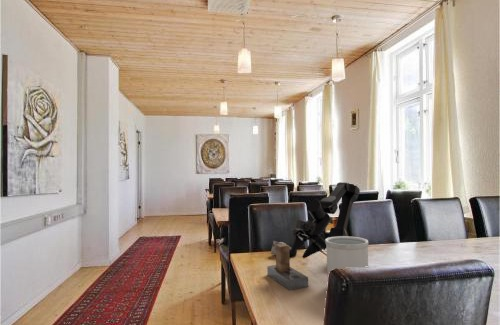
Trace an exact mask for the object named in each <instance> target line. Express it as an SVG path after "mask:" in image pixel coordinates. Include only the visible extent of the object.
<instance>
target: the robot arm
mask: <svg viewBox="0 0 500 325" xmlns="http://www.w3.org/2000/svg"><path fill="white" fill-rule="evenodd" d="M360 192H361V191H360V187H358V186H357V185H354V184H351V183H349V182H348V181H347V182H345V181H342V182H337V183H336V186H335V187H334V189H333V190H332V191H331V193H329V195H328V196H327V197H323V198H321V200H320V199H319V198H314V199H313V201H310V202H309V203H308V204H307V205H306V210H307V211H308V212H309V215H311V217H312V219H313V220H312V221H311V220H306V221H303V220H300V219H297V221H296V224H295V228H294V229H293V230H292V235H293V243H292V245H291V252H292V253H293V252H294V251H296V250H297V251H298V250H299V249H300V248H302V246H304V245H305V244H306V243H305V242H307V241H308V246H307V247H306V249H305V250H304V252H303V254H302V256H301V257H302V258H303V259H306V258H308V257H310V256H312V255H314V254H316V253H318V252H321V251H326V243H325V239H324V238H323V237H322V236H321V235H325V233H326V232H325V230H326V228H327V227H328V226H329V224H331V225H333V224H334V221H333V217H332V216H330V215H334V214H336V213H337V210H338V208H339V206H338V203H339V202H340V200H341V199H342V202H341V205H340V209H339V212H338V217H337V220H336V224H335V226H334V227H331V228H330V229H329V234H328V237H327V238H329V237H337V236H349V234H348V232H347V228H348V224H349V219H350V215H351V211H352V208H353V204H354V203H355V202H356V201H357V200H358V197H359V195H360Z"/></svg>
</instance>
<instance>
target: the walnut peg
mask: <svg viewBox="0 0 500 325" xmlns="http://www.w3.org/2000/svg"><path fill="white" fill-rule="evenodd" d="M286 244H287V243H286ZM286 244H278V245H276V255H275V265H276V270H277V271H279V272H284V271H290V267H291V266H290V265H291V264H290V263H291V262H290V256H291V255H289V247H290V245H288V244H287V245H286Z"/></svg>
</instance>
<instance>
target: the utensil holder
mask: <svg viewBox="0 0 500 325" xmlns="http://www.w3.org/2000/svg"><path fill="white" fill-rule="evenodd" d="M324 240H325V243H326V249H325V251H326V268H327V276H328V275H329V272H330V271H331V270H332V269H335V268H346V267H365V266H368V267H369V240H368V239H367V238H365V237H364V238H363V237H357V236H349V235H348V236H337V237H329V238H328V237H327V238H325V239H324Z"/></svg>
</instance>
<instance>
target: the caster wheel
mask: <svg viewBox="0 0 500 325" xmlns="http://www.w3.org/2000/svg"><path fill="white" fill-rule="evenodd" d="M272 241H273V242H272V246H271V251H270V254H271V255H273V256H276V245H278V244H286V245H288V244H287V243H286V242H283V241H276V240H272ZM291 248H292V246H289V256H292V257H296V256H297V253H298V249H297V250H296V251H294V252H293V253H292V252H291Z"/></svg>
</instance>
